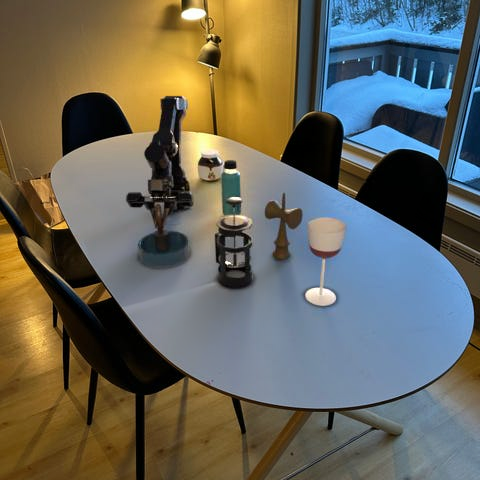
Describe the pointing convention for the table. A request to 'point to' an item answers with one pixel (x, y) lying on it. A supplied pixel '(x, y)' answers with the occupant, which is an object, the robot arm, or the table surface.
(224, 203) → the beverage bottle
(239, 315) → the table surface
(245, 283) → the french press
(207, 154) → the spread jar
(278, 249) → the kendama
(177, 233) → the dish
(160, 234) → the peg on round base
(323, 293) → the wineglass
